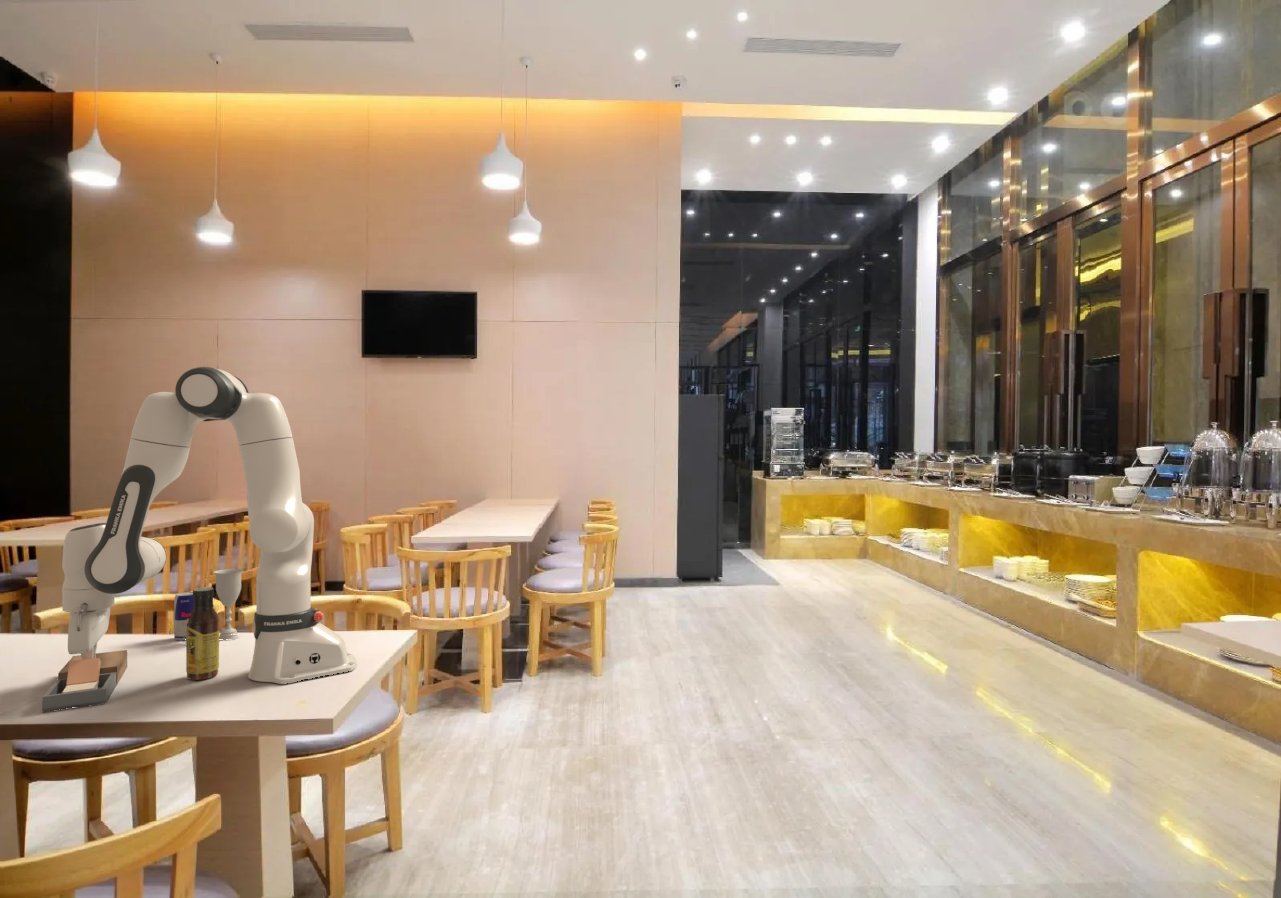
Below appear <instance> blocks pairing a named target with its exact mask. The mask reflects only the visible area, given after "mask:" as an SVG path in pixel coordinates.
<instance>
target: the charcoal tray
mask: <svg viewBox="0 0 1281 898" xmlns="http://www.w3.org/2000/svg"><path fill="white" fill-rule="evenodd" d="M66 686H67V678H64V679H58V678H57V679H56V680H55V682H53V684H52V685H51V686H50V687H49V688H48V689H47V691H46V692H45V693H44V694H43V695H42V697H41V712H42V711H50V712H55V711H54V710H58V711H62V710H61V709H65V710H67V709H66V708H72V707H79V708H85V707H84V706H86V707H90V706H89V705H93V706H98V705H97V704H101V705H106V704H107V703H108V701H109V699H110V698H111V697H112V694H113V692H114V691H115V689H116V687H117V685H116V672H113V673H105V674H99V684H98V689H92V690H84V691H77V692H69V693H62V692H63V691H64V689H65V688H66ZM105 703H106V704H105ZM59 709H60V710H59ZM72 709H73V708H72Z"/></svg>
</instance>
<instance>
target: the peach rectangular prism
mask: <svg viewBox="0 0 1281 898" xmlns="http://www.w3.org/2000/svg"><path fill="white" fill-rule="evenodd" d="M100 664H101V661H100V658H94V659H86V660H78V661H70V662H69V669H68V677H67V685H73V684H81V683H88V682H96V681H98V684H99V674H100Z"/></svg>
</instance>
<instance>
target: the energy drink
mask: <svg viewBox="0 0 1281 898" xmlns="http://www.w3.org/2000/svg"><path fill="white" fill-rule="evenodd" d="M173 601H174V605H173V606H174V607H173V608H174V613H173V615H174V616H173V617H174V618H173V621H174V624H173V625H174V627H173V630H174V632H173V633H174V635H173V636H174V640H175V641H177V640H185V639H187V623H188V621H189V618H190V616H191V613H192V610H193V606H194V597H193V591H185V592H178V593H175V596H174V599H173ZM185 641H186V640H185Z"/></svg>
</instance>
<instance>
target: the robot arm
mask: <svg viewBox="0 0 1281 898" xmlns="http://www.w3.org/2000/svg"><path fill="white" fill-rule="evenodd" d="M174 389H175V390H174V391H175V392H171V391H170V392H169V391H159V392H154V393H151V394H149V395H148V396H146V397H145V398H144V400H143V401H142V404H141V406H140V408H139V410H138V413H137V415H136V418H135V421H134V424H133V427H132V431H131V435H130V439H129V445H128V448H127V453H126V457H125V462H124V466H123V470H122V472H121V476H120V479H119V482H118V485H117V487H116V490H115V494H114V497H113V499H112V502H111V503H112V504H111V506H110V510H109V512H108V516H107V520H106V522H98V523H93V524H92V523H91V524H89V525H87V524H86V525H83V526H78V527H74V528H72V529H70V530H69V531H68V532H67V533H66V535H65V538H64V542H63V547H62V558H61V560H62V563H61V567H62V571H63V573H64V580H63V584H62V588H61V589H62V590H61V591H62V596H61V597H62V598H61V599H62V601H61V602H62V605H61V606H62V608H61V609H62V611H63V612H67V613H69V621H68V630H67V652H68V654H69V655H81V656H82V660H86V659H94V658H96V652H97V650H98V642H99V641H100V640H101V638H103V636H104V635H105V634H106V633H107V631H108V628H109V624H110V617H111V615H110V614H111V607H113V606H115V595H116V594H122V593H124V592H127V591H129V590H131V589H132V588H134V587H135V586H136V585H139V584H141V583H143V582H145V581H147V580H149V579H151V578H153V577H155V576H156V575H157V574H159V573H160V572H161V571H163V569H164V567H165V565H166V563H167V553H166V549H165V548H164V546H163V545H162V543H160V542H159V541H157V540H156V539H153V538H151V537H145V536H142V534H143V530H144V527H145V523H146V521H147V517H148V514H149V510H150V508H151V504H152V503H153V501H154V500H155V498H156V497H157V496H158V495H159V494H160V493H161V492H162V491H163V490H164V489H165V488H166V487H168V486H169V485H171V483H173V482H174V481H176V480H177V479H178V478H179V477H180V476H181V475H182V473H183V471H184V469H185V466H186V464H187V462H188V459H189V456H190V455H189V454H190V450H191V447H192V446H191V445H192V442H193V441H192V440H193V435H194V431H195V429H196V427H197V426H198V425H199V424H200V423H201V422H211V421H225V420H227V421H228V422H230V423H231V425H232V427H233V428H234V432H235V435H236V439H237V445H238V449H239V453H240V455H239V456H240V457H241V458H240V459H241V463H242V468H243V473H244V478H245V484H246V485H245V486H246V501H247V502H246V503H247V514H248V522H249V536H250V539H251V542H252V543H253V544H254V545H255V546H256V547H257V548H258V549H260V555H259V561H258V570H257V574H256V579H255V580H256V584H255V585H256V586H255V587H256V603H255V605H256V609H255V610H256V611H255V613H254V614H253V637H254V639H255V640H254V641H255V642H254V649H253V656H252V661H251V666H250V669H249V672H248V675H247V677H248V679H249V680H252V681H256V682H261V683H262V682H263V683H275V684H277V685H287V683H288V684H291V683H298V682H301V680H303V679H308V680H311V679H312V678H313V679H316V678H315V677H318V678H321V677H320V676H323V677H326V676H325V675H329V676H333V674H334V675H337V673H339V674H343V672H344V673H348V671H349V672H351V671H354V670H355V669H356V668H357V665H358V663H357V658H356V656H355V655H354V654H351V653H348V652H347V647H346V642H345V641H344V639H343V637H342V636H341V635H340V634H339V633H337V632H335V631H334V630H332V629H331V628H329V627H327V626H325V625H324V624H323V623H321V622H322V621H323V619H324V614H323V612H322V611H320V610H319V609H317V608H315V607H312V606H311V578H312V577H311V574H312V573H311V571H312V562H313V552H314V551H313V550H314V549H313V548H314V533H315V531H314V530H315V517H314V514H313V512H312V510H311V509H310V507H309V506H308V505H307V504H305V503H304V502H303V499H302V489H301V475H300V474H301V470H300V465H299V461H298V457H297V451H296V447H295V442H294V438H293V433H292V428H291V425H290V422H289V419H288V416H287V414H286V411H285V409H284V408H285V407H284V406H283V404H282V402H281V400H280V398H278V397H277V396H275V395H273V394H271V393H267V392H254V393H251V392H250V393H249V389H248V387H247V386H246V384H245V383H244V381H243V380H242V379H240V378H239V377H237V376H236V375H233V374H231V373H229V372H228V371H226V370H223V369H219V368H214V367H209V366H198V367H194V368H191V369H188V370H187V371H185V372H183V374H182V375H181V376H179V378H178V380H177V381H176V385H175V388H174ZM355 667H356V668H355ZM297 681H298V682H297ZM303 681H304V680H303Z"/></svg>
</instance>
